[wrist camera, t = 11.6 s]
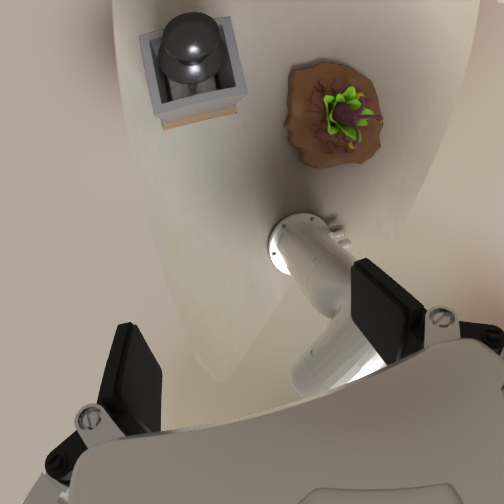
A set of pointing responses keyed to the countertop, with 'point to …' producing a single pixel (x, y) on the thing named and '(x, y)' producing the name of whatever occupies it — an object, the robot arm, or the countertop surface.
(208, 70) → the plunger
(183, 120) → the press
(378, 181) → the countertop surface
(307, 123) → the plant
